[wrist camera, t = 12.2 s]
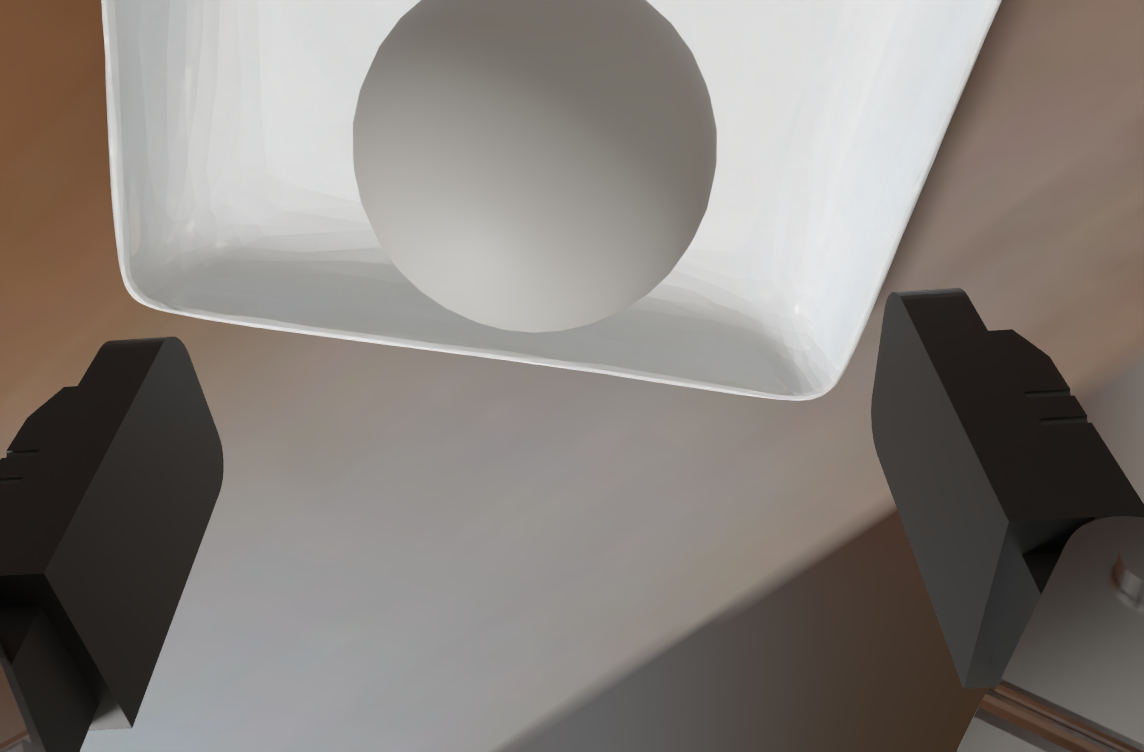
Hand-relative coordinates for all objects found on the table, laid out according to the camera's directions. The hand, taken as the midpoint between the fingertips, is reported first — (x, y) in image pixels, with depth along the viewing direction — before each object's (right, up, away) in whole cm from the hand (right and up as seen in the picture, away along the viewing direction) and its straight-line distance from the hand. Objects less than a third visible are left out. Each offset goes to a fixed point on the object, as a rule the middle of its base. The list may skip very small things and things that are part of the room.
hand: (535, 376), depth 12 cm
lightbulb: (0, +9, +12) cm, 15 cm away
